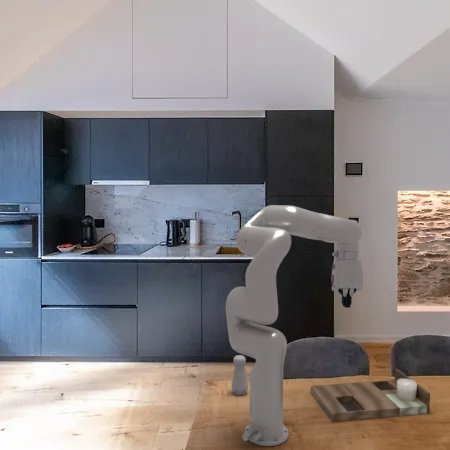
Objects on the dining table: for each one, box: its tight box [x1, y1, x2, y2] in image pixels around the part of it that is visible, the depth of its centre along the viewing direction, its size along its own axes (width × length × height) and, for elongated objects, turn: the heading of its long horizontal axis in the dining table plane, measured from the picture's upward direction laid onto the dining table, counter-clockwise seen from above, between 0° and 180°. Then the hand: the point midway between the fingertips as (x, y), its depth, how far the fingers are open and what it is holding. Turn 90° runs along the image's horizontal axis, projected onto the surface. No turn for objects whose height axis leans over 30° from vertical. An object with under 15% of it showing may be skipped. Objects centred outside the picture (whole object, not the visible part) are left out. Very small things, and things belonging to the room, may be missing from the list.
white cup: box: [397, 378, 418, 401], centre depth 150 cm, size 6×6×5 cm
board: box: [310, 368, 431, 422], centre depth 152 cm, size 32×20×6 cm, turn 98°
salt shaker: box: [231, 354, 249, 396], centre depth 160 cm, size 6×6×13 cm
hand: (346, 306), depth 162 cm, fingers closed
